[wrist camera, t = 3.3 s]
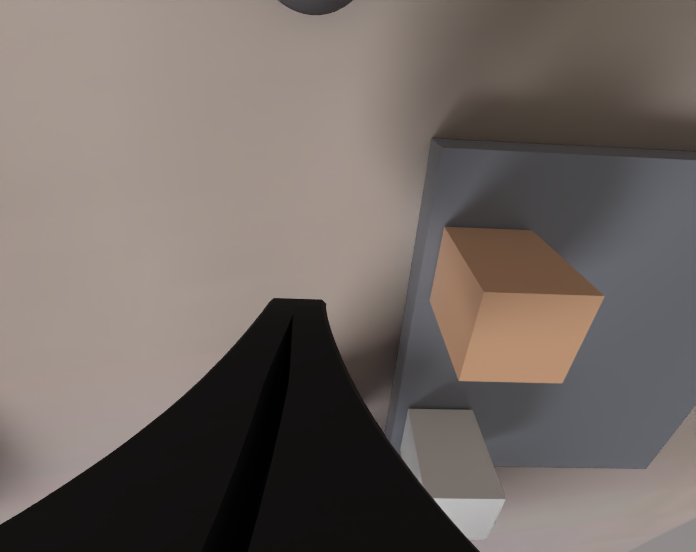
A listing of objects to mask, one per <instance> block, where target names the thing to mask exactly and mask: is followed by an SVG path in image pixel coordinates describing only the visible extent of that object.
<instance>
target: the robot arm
mask: <svg viewBox="0 0 696 552" xmlns="http://www.w3.org/2000/svg"><path fill="white" fill-rule="evenodd" d="M0 552H480V551H479V550H478V549H477V548H476V547H475V546H474V545H473V544H472V543H471V542H470V541H469V540H468V538H467V537H466V536H465V535H464V534H463V533H462V532H461V530H460V529H459V528H458V527H457V526H456V525H455V524H454V523H453V521H452V520H451V519H450V518H449V517H448V516H447V515H446V513H445V512H444V511H443V510H442V509H441V507H440V506H439V505H438V504H437V503H436V501H435V500H434V499H433V498H432V497H431V495H430V494H429V493H428V492H427V490H426V489H425V488H424V487H423V486H422V484H421V483H420V482H419V481H418V479H417V478H416V477H415V475H414V474H413V473H412V471H411V470H410V469H409V467H408V466H407V465H406V463H405V462H404V461H403V459H402V458H401V456H400V455H399V454H398V452H397V451H396V450H395V448H394V447H393V446H392V444H391V443H390V442H389V440H388V439H387V437H386V436H385V434H384V433H383V431H382V430H381V428H380V427H379V425H378V424H377V422H376V421H375V419H374V417H373V416H372V414H371V413H370V411H369V409H368V408H367V406H366V404H365V403H364V401H363V399H362V397H361V396H360V394H359V392H358V390H357V388H356V386H355V385H354V383H353V381H352V379H351V377H350V375H349V373H348V371H347V369H346V366H345V364H344V362H343V360H342V357H341V355H340V353H339V350H338V348H337V345H336V343H335V340H334V337H333V335H332V331H331V328H330V325H329V321H328V317H327V312H326V303H325V302H324V301H323V300H315V299H284V298H274V299H272V300H271V301H270V302H269V303H268V305H267V306H266V307H265V309H264V310H263V311H262V313H261V314H260V315H259V316H258V318H257V319H256V320H255V321H254V323H253V324H252V325H251V326H250V328H249V329H248V330H247V331H246V332H245V333H244V335H243V336H242V337H241V338H240V339H239V340H238V341H237V342H236V344H235V345H234V346H233V347H232V348H231V349H230V350H229V351H228V353H227V354H226V355H225V356H224V357H223V358H222V359H221V360H220V361H219V362H218V363H217V364H216V365H215V366H214V367H213V368H212V369H211V370H210V371H209V372H208V373H207V374H206V375H205V376H204V377H203V378H202V379H201V380H200V381H199V382H198V383H197V384H196V385H194V386H193V387H192V388H191V389H190V390H189V391H188V392H187V393H186V394H185V395H184V396H182V397H181V398H180V399H179V400H178V401H177V402H175V403H174V404H173V405H172V406H171V407H170V408H168V409H167V410H166V411H165V412H164V413H162V414H161V415H160V416H159V417H157V418H156V419H155V420H154V421H152V422H151V423H150V424H149V425H147V426H146V427H145V428H144V429H142V430H141V431H140V432H138V433H137V434H136V435H135V436H133V437H132V438H131V439H129V440H128V441H127V442H125V443H124V444H123V445H121V446H120V447H119V448H117V449H116V450H115V451H113V452H112V453H110V454H109V455H108V456H106V457H105V458H103V459H102V460H100V461H99V462H97V463H96V464H94V465H93V466H91V467H90V468H89V469H87V470H86V471H84V472H83V473H81V474H80V475H78V476H77V477H75V478H74V479H72V480H71V481H69V482H68V483H66V484H65V485H63V486H62V487H60V488H59V489H57V490H56V491H54V492H52V493H51V494H49V495H48V496H46V497H45V498H43V499H42V500H40V501H38V502H37V503H35V504H34V505H32V506H30V507H29V508H27V509H26V510H24V511H22V512H21V513H19V514H17V515H16V516H14V517H12V518H11V519H9V520H7V521H6V522H4V523H2V524H1V525H0Z"/></svg>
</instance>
